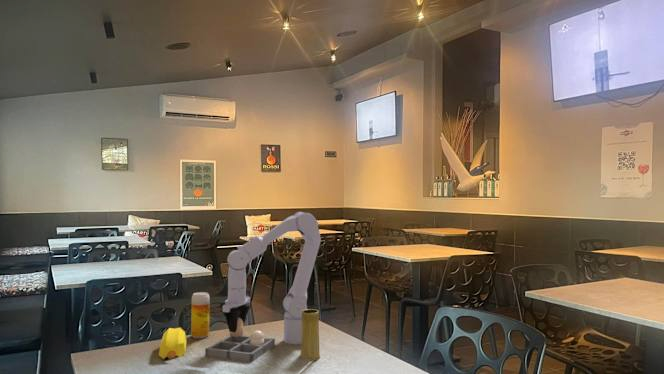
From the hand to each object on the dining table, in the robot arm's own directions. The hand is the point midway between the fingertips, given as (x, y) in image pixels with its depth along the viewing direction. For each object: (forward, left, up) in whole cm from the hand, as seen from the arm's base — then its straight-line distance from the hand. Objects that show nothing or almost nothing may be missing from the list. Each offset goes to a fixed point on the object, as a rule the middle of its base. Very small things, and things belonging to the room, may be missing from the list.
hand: (236, 329), depth 154 cm
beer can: (+18, -7, -6) cm, 21 cm away
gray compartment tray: (-4, +4, -6) cm, 8 cm away
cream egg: (-7, 0, -5) cm, 9 cm away
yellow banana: (+17, +9, -6) cm, 21 cm away
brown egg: (0, 0, -2) cm, 2 cm away
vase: (-26, +1, -6) cm, 26 cm away
